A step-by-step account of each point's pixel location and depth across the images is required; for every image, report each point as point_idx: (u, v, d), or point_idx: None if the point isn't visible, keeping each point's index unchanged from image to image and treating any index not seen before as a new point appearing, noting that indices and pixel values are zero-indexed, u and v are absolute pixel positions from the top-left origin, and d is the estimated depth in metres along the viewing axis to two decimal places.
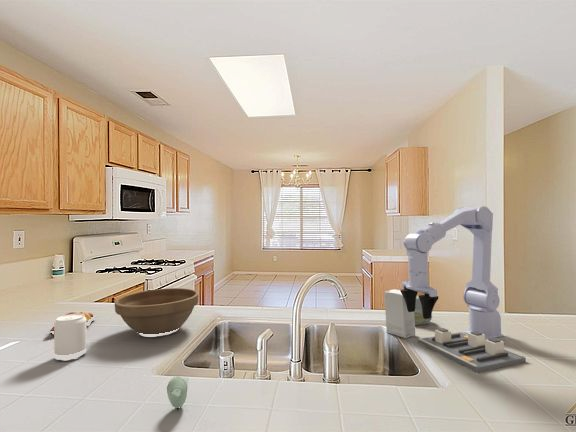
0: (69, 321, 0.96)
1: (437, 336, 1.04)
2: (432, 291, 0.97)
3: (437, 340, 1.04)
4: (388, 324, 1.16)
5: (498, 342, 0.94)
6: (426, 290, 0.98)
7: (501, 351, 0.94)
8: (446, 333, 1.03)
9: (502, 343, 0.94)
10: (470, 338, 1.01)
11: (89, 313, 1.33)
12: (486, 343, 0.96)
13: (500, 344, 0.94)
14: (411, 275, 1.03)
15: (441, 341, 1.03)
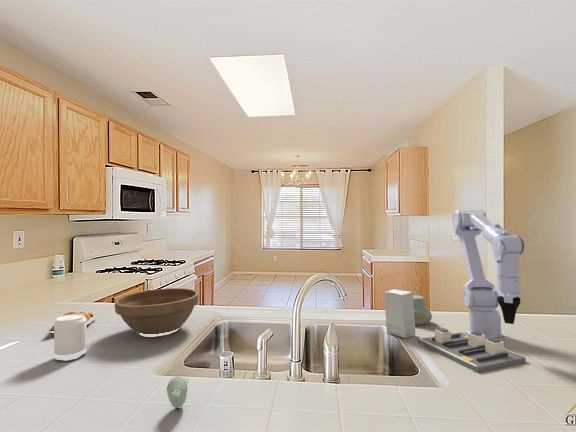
0: (69, 321, 0.96)
1: (437, 336, 1.04)
2: (505, 296, 0.92)
3: (437, 340, 1.04)
4: (388, 324, 1.16)
5: (498, 342, 0.94)
6: (502, 295, 0.93)
7: (501, 351, 0.94)
8: (446, 333, 1.03)
9: (502, 343, 0.94)
10: (470, 338, 1.01)
11: (89, 313, 1.33)
12: (486, 343, 0.96)
13: (500, 344, 0.94)
14: (497, 278, 0.98)
15: (441, 341, 1.03)
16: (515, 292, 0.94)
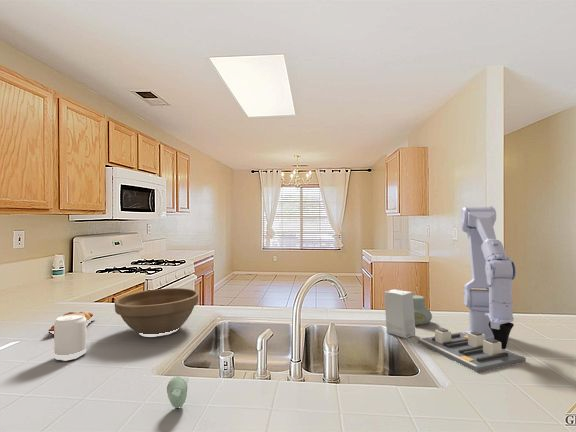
0: (69, 321, 0.96)
1: (437, 336, 1.04)
2: (492, 322, 0.91)
3: (437, 340, 1.04)
4: (388, 324, 1.16)
5: (496, 342, 0.94)
6: (491, 320, 0.93)
7: (499, 352, 0.94)
8: (446, 333, 1.03)
9: (500, 343, 0.94)
10: (470, 338, 1.01)
11: (89, 313, 1.33)
12: (484, 343, 0.95)
13: (498, 344, 0.94)
14: (489, 303, 0.98)
15: (441, 341, 1.03)
16: (505, 318, 0.93)
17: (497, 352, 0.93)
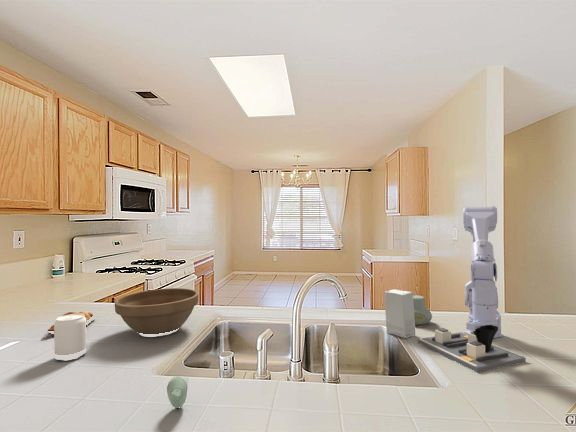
0: (69, 321, 0.96)
1: (437, 336, 1.04)
2: (467, 323, 0.91)
3: (437, 340, 1.04)
4: (388, 324, 1.16)
5: (479, 345, 0.92)
6: None
7: (482, 355, 0.92)
8: (446, 333, 1.03)
9: (483, 346, 0.92)
10: (470, 338, 1.01)
11: (89, 313, 1.33)
12: (467, 346, 0.93)
13: (481, 347, 0.92)
14: None
15: (441, 341, 1.03)
16: (485, 320, 0.91)
17: (481, 355, 0.91)
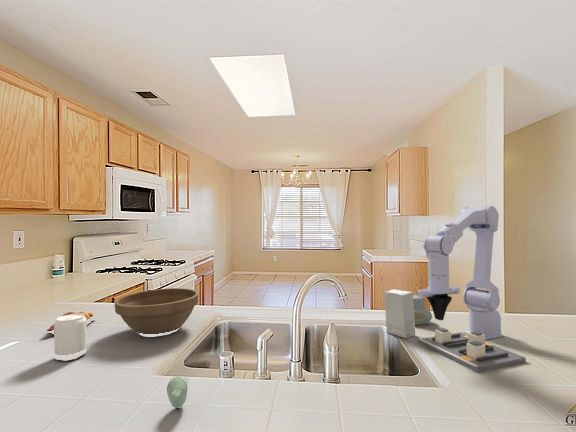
0: (69, 321, 0.96)
1: (437, 336, 1.04)
2: (418, 291, 0.99)
3: (437, 340, 1.04)
4: (388, 324, 1.16)
5: (479, 345, 0.92)
6: None
7: (482, 355, 0.92)
8: (446, 333, 1.03)
9: (483, 346, 0.92)
10: (470, 338, 1.01)
11: (89, 313, 1.33)
12: (467, 346, 0.93)
13: (481, 347, 0.92)
14: None
15: (441, 341, 1.03)
16: (436, 289, 0.98)
17: (481, 355, 0.91)
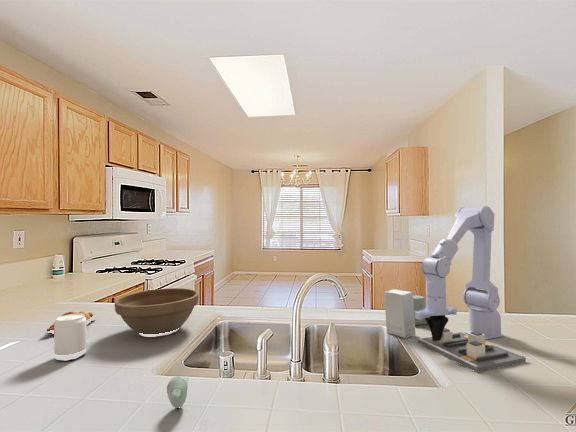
0: (69, 321, 0.96)
1: None
2: (415, 312, 1.02)
3: None
4: (388, 324, 1.16)
5: (479, 345, 0.92)
6: None
7: (482, 355, 0.92)
8: (447, 333, 1.03)
9: (483, 346, 0.92)
10: (470, 338, 1.01)
11: (89, 313, 1.34)
12: (467, 346, 0.93)
13: (481, 347, 0.92)
14: None
15: (442, 341, 1.03)
16: (433, 311, 1.01)
17: (481, 355, 0.91)
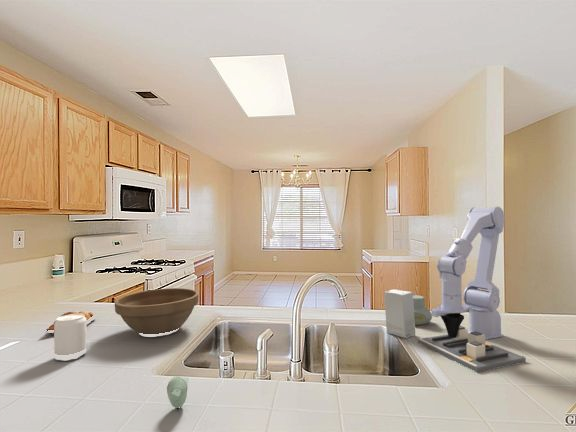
0: (69, 321, 0.96)
1: None
2: (432, 310, 1.04)
3: None
4: (388, 324, 1.16)
5: (479, 345, 0.92)
6: None
7: (482, 355, 0.92)
8: (463, 330, 1.05)
9: (483, 346, 0.92)
10: (470, 338, 1.01)
11: (89, 313, 1.34)
12: (467, 346, 0.93)
13: (481, 347, 0.92)
14: None
15: (458, 338, 1.05)
16: (450, 309, 1.03)
17: (481, 355, 0.91)
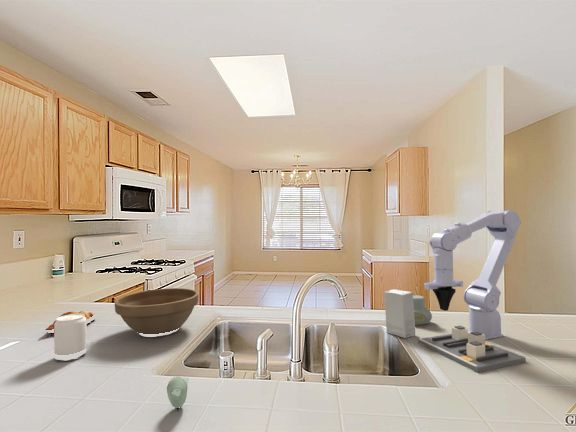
0: (69, 321, 0.96)
1: (454, 333, 1.06)
2: (424, 284, 1.08)
3: (454, 337, 1.06)
4: (388, 324, 1.16)
5: (479, 345, 0.92)
6: None
7: (482, 355, 0.92)
8: (463, 330, 1.05)
9: (483, 346, 0.92)
10: (470, 338, 1.01)
11: (89, 312, 1.34)
12: (467, 346, 0.93)
13: (481, 347, 0.92)
14: None
15: (458, 338, 1.05)
16: (441, 282, 1.07)
17: (481, 355, 0.91)
